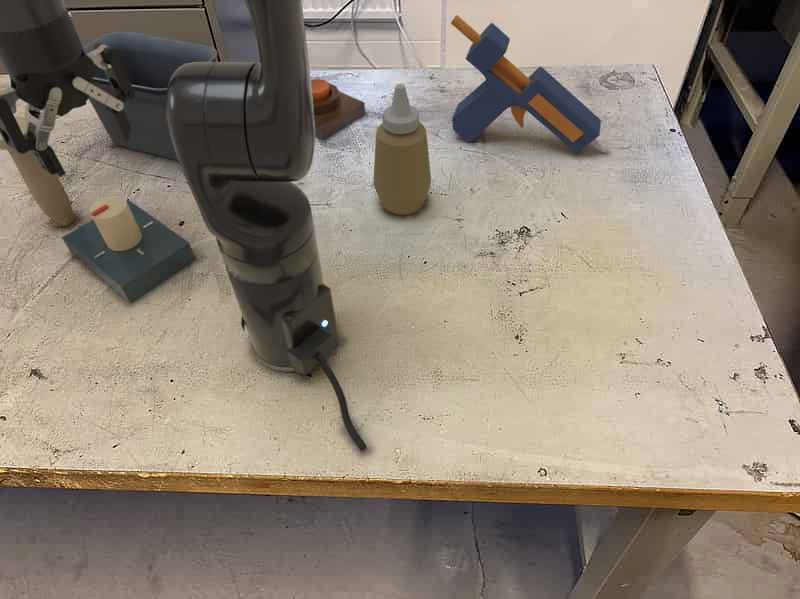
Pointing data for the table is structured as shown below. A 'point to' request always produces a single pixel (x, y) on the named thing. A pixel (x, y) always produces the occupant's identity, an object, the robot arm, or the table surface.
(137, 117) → the storage bin
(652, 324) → the table surface
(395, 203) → the squeeze bottle
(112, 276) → the dial panel
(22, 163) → the handle
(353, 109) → the button block
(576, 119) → the glue gun
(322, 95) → the button
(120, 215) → the dial
